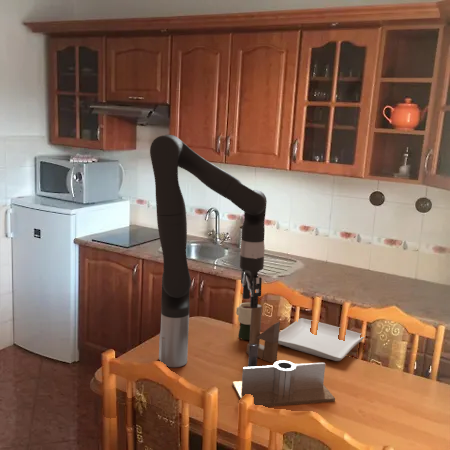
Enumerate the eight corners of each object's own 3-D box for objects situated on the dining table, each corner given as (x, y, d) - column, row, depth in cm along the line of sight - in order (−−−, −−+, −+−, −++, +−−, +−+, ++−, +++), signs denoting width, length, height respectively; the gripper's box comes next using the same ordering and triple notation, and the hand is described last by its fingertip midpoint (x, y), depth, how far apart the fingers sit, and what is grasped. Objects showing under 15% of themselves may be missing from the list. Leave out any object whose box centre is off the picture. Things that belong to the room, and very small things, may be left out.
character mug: (263, 340, 200) (266, 307, 198) (252, 345, 195) (254, 311, 192) (241, 331, 207) (242, 299, 204) (229, 336, 202) (231, 304, 199)
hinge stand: (244, 408, 152) (246, 379, 150) (232, 384, 165) (234, 357, 163) (334, 401, 159) (337, 373, 157) (316, 378, 172) (318, 353, 170)
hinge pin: (248, 376, 171) (250, 347, 169) (246, 372, 174) (248, 343, 172) (257, 375, 172) (259, 346, 170) (254, 371, 174) (256, 343, 173)
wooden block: (271, 363, 181) (275, 313, 178) (245, 353, 188) (249, 305, 184) (277, 359, 184) (281, 310, 181) (251, 350, 191) (255, 302, 187)
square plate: (341, 368, 181) (342, 357, 180) (269, 347, 195) (270, 337, 194) (365, 342, 204) (366, 333, 203) (300, 325, 218) (300, 316, 217)
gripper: (234, 248, 173) (232, 296, 176) (247, 260, 159) (244, 311, 162) (256, 248, 175) (254, 295, 178) (270, 259, 161) (268, 310, 164)
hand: (249, 303), depth 170 cm, fingers open, 8 cm apart
